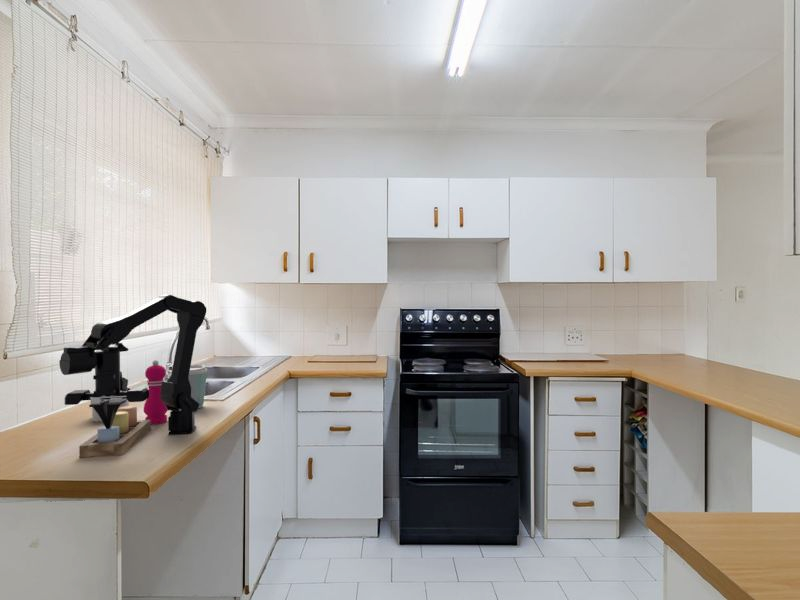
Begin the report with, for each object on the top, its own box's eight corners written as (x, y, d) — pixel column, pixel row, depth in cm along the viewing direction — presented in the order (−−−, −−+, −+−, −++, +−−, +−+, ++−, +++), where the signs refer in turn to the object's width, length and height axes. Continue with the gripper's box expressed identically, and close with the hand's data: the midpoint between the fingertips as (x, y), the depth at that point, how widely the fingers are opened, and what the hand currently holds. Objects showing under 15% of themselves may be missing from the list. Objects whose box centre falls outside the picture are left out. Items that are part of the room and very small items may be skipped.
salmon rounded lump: (139, 422, 147) (139, 405, 147) (133, 426, 143) (133, 409, 142) (121, 423, 147) (120, 406, 146) (114, 427, 142) (114, 410, 142)
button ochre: (131, 428, 141) (131, 411, 140) (124, 433, 136) (124, 415, 136) (112, 429, 140) (111, 412, 140) (105, 434, 135) (104, 416, 135)
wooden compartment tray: (151, 429, 150) (150, 419, 150) (122, 454, 127) (122, 443, 127) (115, 431, 149) (115, 421, 148) (79, 457, 125) (79, 445, 125)
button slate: (122, 443, 134) (122, 425, 134) (115, 449, 129) (115, 430, 129) (102, 444, 133) (101, 426, 133) (94, 450, 128) (94, 431, 128)
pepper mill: (138, 423, 158) (137, 361, 157) (158, 418, 164) (158, 358, 164) (153, 426, 154) (152, 362, 154) (173, 420, 161) (172, 359, 160)
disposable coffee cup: (201, 410, 174) (200, 368, 173) (170, 411, 174) (170, 368, 174) (212, 404, 184) (212, 364, 184) (184, 404, 184) (183, 364, 184)
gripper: (154, 364, 140) (155, 418, 140) (82, 366, 137) (83, 422, 137) (142, 370, 129) (142, 429, 130) (63, 372, 126) (64, 433, 126)
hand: (108, 428), depth 131 cm, fingers closed, pressing on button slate
